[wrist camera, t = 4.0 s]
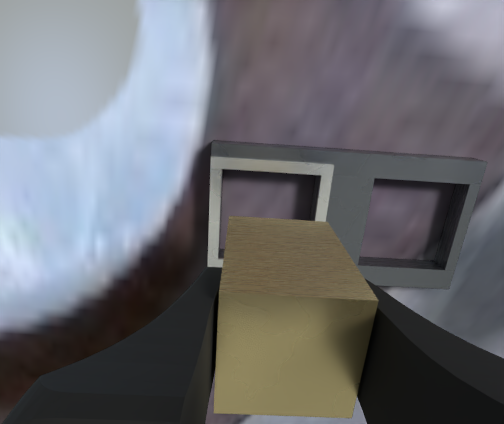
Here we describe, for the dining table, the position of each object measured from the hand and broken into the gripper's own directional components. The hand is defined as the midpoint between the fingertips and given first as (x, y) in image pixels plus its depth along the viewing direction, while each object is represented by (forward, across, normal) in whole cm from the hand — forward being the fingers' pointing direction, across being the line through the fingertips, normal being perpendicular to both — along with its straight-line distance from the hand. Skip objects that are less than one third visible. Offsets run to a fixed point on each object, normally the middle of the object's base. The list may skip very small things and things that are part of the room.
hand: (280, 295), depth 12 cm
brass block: (+3, 0, 0) cm, 3 cm away
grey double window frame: (+9, -4, 0) cm, 10 cm away
